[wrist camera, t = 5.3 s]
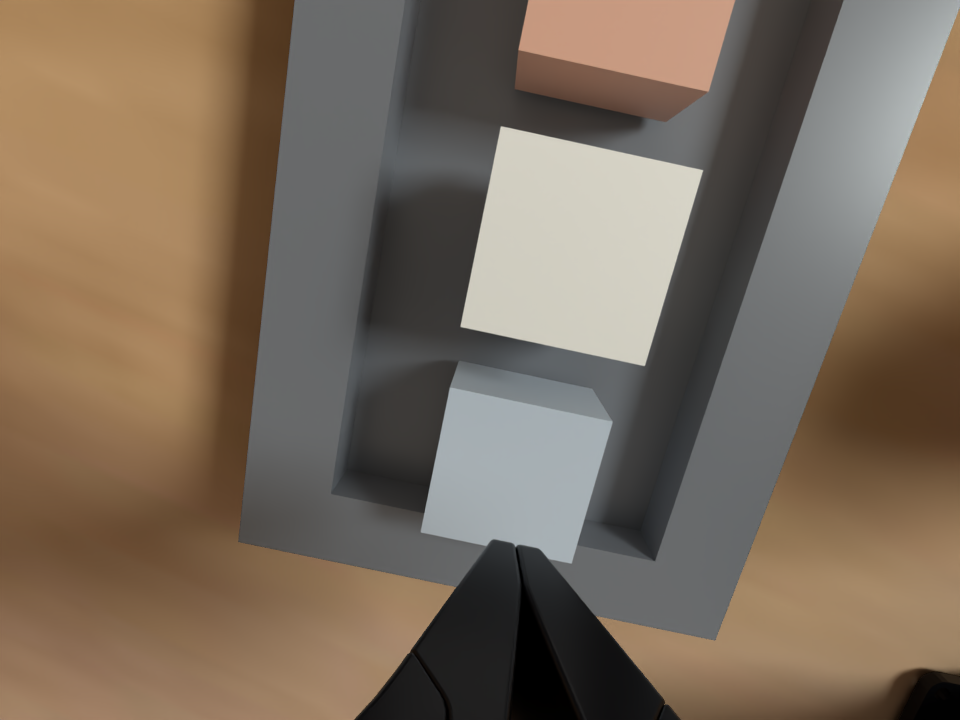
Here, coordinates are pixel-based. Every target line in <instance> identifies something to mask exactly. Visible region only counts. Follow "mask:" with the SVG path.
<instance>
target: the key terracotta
mask: <svg viewBox="0 0 960 720" xmlns="http://www.w3.org/2000/svg"><path fill="white" fill-rule="evenodd" d="M734 3H735V0H528V5H527V10H526V15H525V20H524V25H523V30H522V35H521V40H520V45H519V50H518V59H517V69H516V79H515V89H516V90H521V91H525V92H530V93H534V94H539V95H544V96H548V97H553V98H557V99H562V100H566V101H571V102H576V103H580V104H585V105H589V106H594V107H598V108H603V109H608V110H612V111H617V112H621V113H626V114H630V115H635V116H640V117H644V118H649V119H653V120H658V121H662V122H667V121H668V120H669V119H671V118H672V117H674V116H675V115H677V114H678V113H679V112H681V111H682V110H684V109H685V108H686V107H688V106H689V105H691V104H692V103H694V102H695V101H696V100H698V99H699V98H701V97H702V96H703V95H705V94H706V93H708V92H709V89H710V85H711V82H712V78H713V75H714V72H715V68H716V65H717V61H718V58H719V54H720V51H721V47H722V44H723V41H724V37H725V34H726V30H727V27H728V23H729V20H730V16H731V13H732V10H733V6H734Z"/></svg>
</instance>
